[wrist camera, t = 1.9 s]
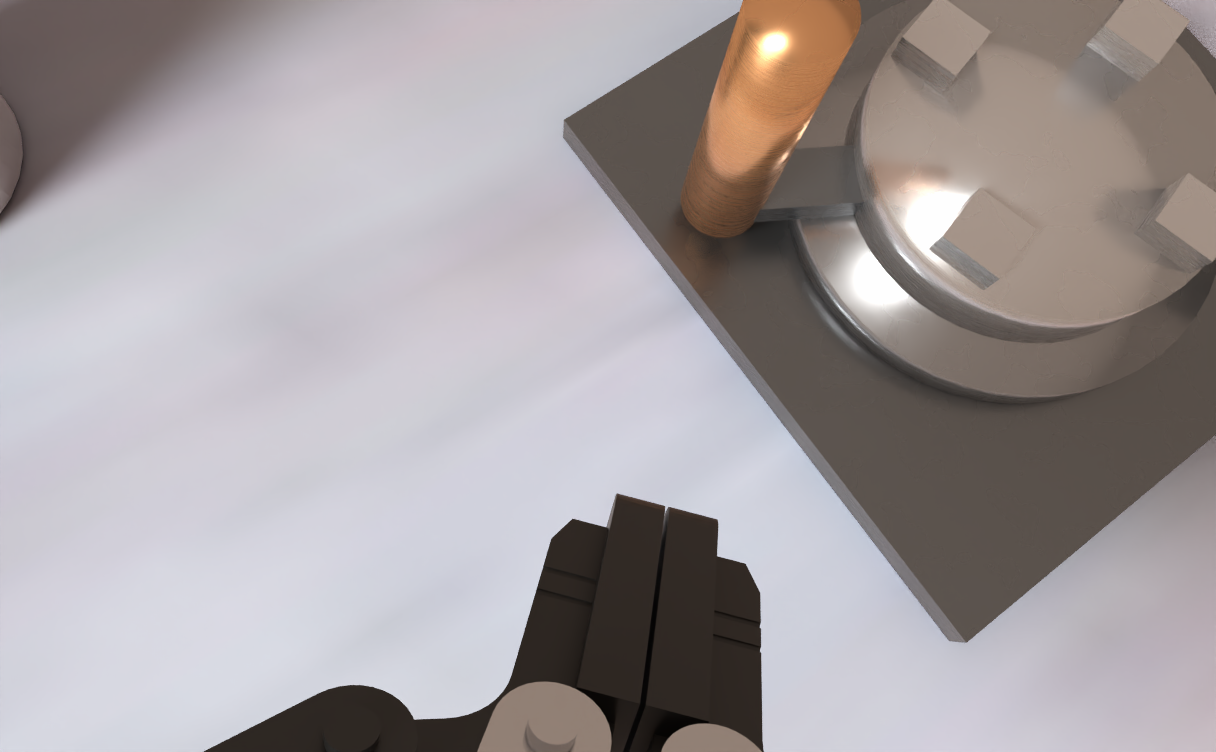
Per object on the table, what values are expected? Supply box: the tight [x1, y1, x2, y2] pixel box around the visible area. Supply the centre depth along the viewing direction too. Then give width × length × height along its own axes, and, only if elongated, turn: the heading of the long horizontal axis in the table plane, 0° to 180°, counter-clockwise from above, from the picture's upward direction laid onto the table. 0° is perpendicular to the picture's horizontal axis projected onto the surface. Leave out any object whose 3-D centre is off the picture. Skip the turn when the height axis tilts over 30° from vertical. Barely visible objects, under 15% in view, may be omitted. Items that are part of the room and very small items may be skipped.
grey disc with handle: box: [681, 0, 1216, 343], centre depth 31 cm, size 21×14×12 cm
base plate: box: [563, 0, 1216, 643], centre depth 39 cm, size 26×26×3 cm
